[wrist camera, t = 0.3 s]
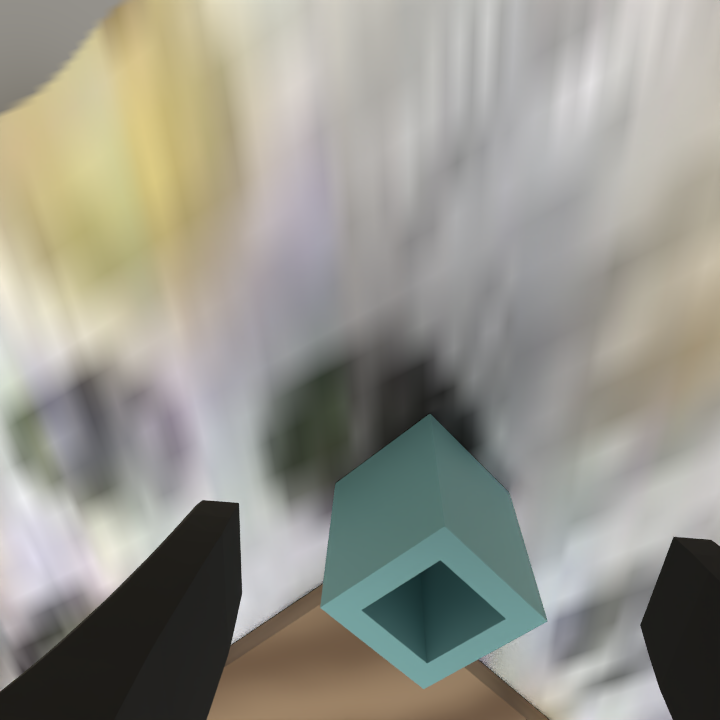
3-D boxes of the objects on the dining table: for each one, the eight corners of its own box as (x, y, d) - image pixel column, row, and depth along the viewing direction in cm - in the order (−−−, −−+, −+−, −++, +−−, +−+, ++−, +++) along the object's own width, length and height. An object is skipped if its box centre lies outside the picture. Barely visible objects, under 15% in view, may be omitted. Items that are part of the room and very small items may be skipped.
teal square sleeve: (509, 493, 21) (547, 620, 16) (415, 554, 22) (423, 689, 18) (430, 413, 20) (444, 526, 15) (335, 483, 21) (320, 607, 16)
